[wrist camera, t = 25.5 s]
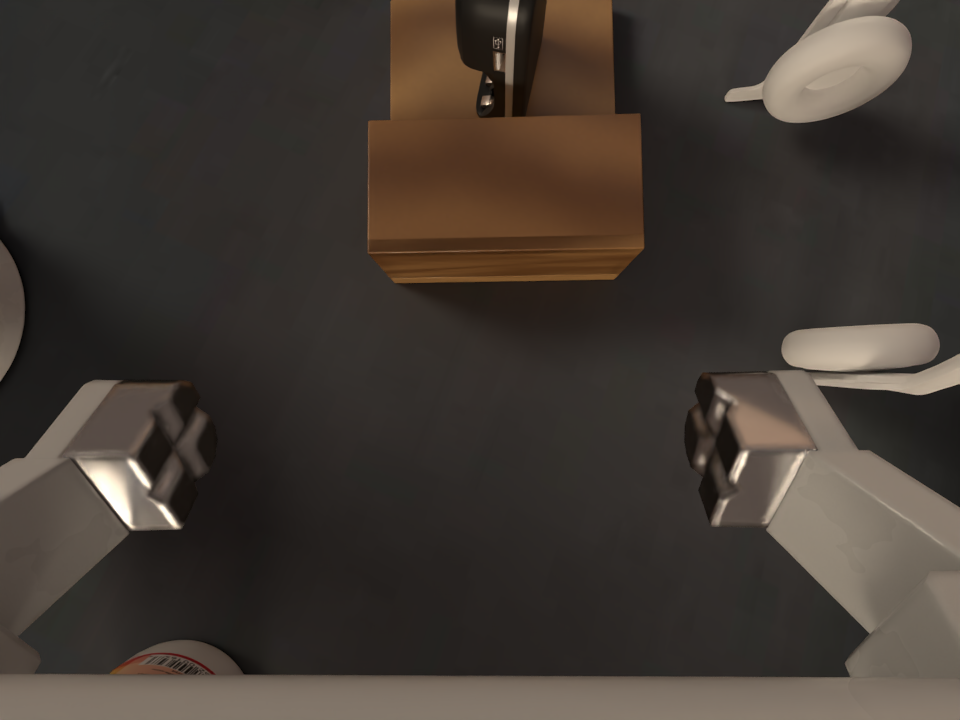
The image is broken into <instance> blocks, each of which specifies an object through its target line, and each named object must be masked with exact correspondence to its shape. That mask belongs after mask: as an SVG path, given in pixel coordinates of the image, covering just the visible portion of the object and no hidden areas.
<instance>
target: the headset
mask: <svg viewBox="0 0 960 720" xmlns="http://www.w3.org/2000/svg"><path fill="white" fill-rule="evenodd" d="M899 1H900V0H830V1H829V2H828V3H827V4H826V5H825V7H824V8H823V9H822V11H821V12H820V13H819V14H818V16H817V17H816V18H815V20H814V21H813V22H812V24H811V25H810V26H809V28H808V29H807V30H806V32H805V33H804V35H803V36H802V37H801V39H800V40H799V41H798V43H797V44H796V45H794V46H793V47H792V48H790V49H789V50H788V51H787V52H786V53H784V54H783V55H782V56H781V57H780V58H779V59H778V61H777V62H776V63H775V64H774V66H773V67H772V68H771V70H770V71H769V73H768V75H767V77H766V79H765V81H764V82H762V83H760V84H758V85H756V86H751V87H743V88H735V89H731V90H730V91H728V93H727V94H726V96H725V101H726V102H736V101H747V100H758V99H763V102H764V105H765V107H766V109H767V111H768V112H769V113H770V114H771V115H772V116H773V117H775V118H777V119H779V120H781V121H784V122H790V123H806V122H814V121H819V120H824V119H828V118H831V117H834V116H837V115H840V114H843V113H845V112H848V111H850V110H853V109H855V108H857V107H859V106H861V105H863V104H865V103H867V102H868V101H870V100H872V99H873V98H875V97H876V96H878V95H879V94H881V93H882V92H883V91H885V90H886V89H887V88H888V87H889V86H891V85H892V84H893V83H894V82H895V81H896V80H897V79H898V77H899V76H900V75H901V74H902V72H903V71H904V69H905V68H906V66H907V64H908V61H909V59H910V55H911V50H912V39H911V35H910V33H909V31H908V29H907V28H906V27H905V26H904V25H903V24H902V23H900V22H899V21H897V20H895V19H893V18H889V17H885V16H886V15H887V14H888V13H889V12H890V11H891V10H892V9H893V8H894V7H895V5H896V4H897V3H898V2H899ZM939 347H940V343H939V338H938V336H937V334H936V332H935V331H934V330H933V329H932V328H931V327H929V326H926V325H923V324H916V323H908V324H882V325H862V326H845V327H829V328H815V329H803V330H797V331H794V332H791V333H789V334H788V335H787V336H786V337H785V338H784V340H783V343H782V350H781V351H782V355H783V358H784V359H785V361H786V362H787V363H788V364H790V365H792V366H795V367H802V368H805V369H813V370H826V371H833V372H813V373H808V374H810V375H811V377H812V378H813V380H814V382H815V383H816V385H822V386H834V387H846V388H858V389H873V390H891V391H896V392H902V393H908V394H914V395H925V394H929V393H932V392H935V391H938V390H941V389H944V388H948V387H951V386H954V385H957V384H960V354H958V355H956V356H955V357H953V358H951V359H949V360H947V361H945V362H943V363H940V364H938V365H936V366H934V367H931V368H929V369H927V370H924V371H921V372H919V373H916V374H905V373H882V372H869V371H877V370H886V369H894V368H903V367H910V366H913V365H921V364H925V363H928V362H930V361H932V360H933V359H934V358H935V357H936V355H937V354H938V351H939Z"/></svg>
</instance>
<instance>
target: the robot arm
mask: <svg viewBox="0 0 960 720" xmlns="http://www.w3.org/2000/svg"><path fill="white" fill-rule="evenodd" d="M24 320H25V298H24V290H23V285H22V281H21V277H20V274H19V272H18V269H17V267H16V264H15V262H14V260H13V258H12V256H11V255H10V253H9V251H8V250H7V248H6V247H5V246H4V244H3V243H2V242H1V240H0V381H1V380H2V378H3V377H4V375H5V374H6V372H7V371H8V369H9V367H10V365H11V364H12V362H13V360H14V357H15V355H16V353H17V350H18V347H19V344H20V341H21V337H22V333H23V328H24ZM695 394H696V396H697V399H698V402H699V403H698V404H696V405H695V406H694V407H692V408H691V409H690V410H689V411H688V415H687V418H686V422H685V438H684V442H685V448H686V454H687V457H688V460H689V463H690V467H691V468H692V469H694V470H695V471H696V472H697V473H698V474H700V475H701V476H702V477H703V478H702V481H701V484H700V487H699V490H698V491H699V494H700V497H701V499H702V502H703V505H704V508H705V511H706V514H707V517H708V520H709V523H710V526H715V527H763V528H767V531H768V532H769V533H770V534H771V535H772V536H773V537H774V538H775V539H776V540H777V541H778V542H779V543H780V544H781V545H782V546H783V547H784V548H785V549H786V550H787V551H788V552H789V553H790V554H791V555H792V556H793V557H794V558H795V559H796V560H797V561H798V562H799V563H800V564H801V565H802V566H803V567H804V568H805V569H806V570H807V571H808V572H809V573H810V574H811V575H812V576H813V577H814V578H815V579H816V580H817V581H818V582H819V583H820V584H821V585H822V586H823V587H824V588H825V589H826V590H827V591H828V592H829V593H830V594H831V595H832V596H833V597H834V598H835V599H836V600H837V601H838V602H839V603H840V604H841V605H842V606H843V607H844V608H845V609H846V610H847V611H848V612H849V613H850V614H851V615H852V616H853V617H854V618H855V619H856V620H857V621H858V622H859V623H860V624H861V625H862V626H863V627H864V628H865V629H866V630H867V631H868V632H869V633H870V634H869V635H868V636H867V637H866V638H865V639H864V640H863V642H862V643H861V644H860V645H859V646H858V647H857V648H856V649H855V650H854V651H853V652H852V653H851V654H850V656H849V657H848V659H847V660H846V662H845V665H846V668H847V670H848V672H849V674H850V677H666V676H433V675H188V674H34V673H35V671H36V669H37V668H38V666H39V664H40V662H41V660H40V656H39V653H38V652H37V651H36V650H34V649H33V648H32V647H30V646H29V645H28V644H26V643H25V642H24V641H22V640H21V639H20V638H18V636H19V635H20V634H21V633H22V632H23V631H24V630H25V629H26V628H27V627H29V626H30V625H31V624H32V623H33V622H34V621H35V620H36V619H37V618H38V617H39V616H40V615H42V614H43V613H44V612H45V611H46V610H47V609H48V608H49V607H50V606H51V605H52V604H53V603H55V602H56V601H57V600H58V599H59V598H60V597H61V596H62V595H63V594H64V593H65V592H67V591H68V590H69V589H70V588H71V587H72V586H73V585H74V584H75V583H76V582H77V581H78V580H80V579H81V578H82V577H83V576H84V575H85V574H86V573H87V572H88V571H89V570H90V569H91V568H93V567H94V566H95V565H96V564H97V563H98V562H99V561H100V560H101V559H102V558H103V557H104V556H106V555H107V554H108V553H109V552H110V551H111V550H112V549H113V548H114V547H115V546H116V545H118V544H119V543H120V542H121V541H122V540H123V539H124V538H125V537H126V536H127V535H128V534H129V532H128V531H136V530H167V529H182V527H183V525H184V523H185V521H186V519H187V517H188V515H189V513H190V510H191V508H192V506H193V504H194V502H195V500H196V498H197V496H198V491H197V488H196V486H195V483H194V482H196V481H197V480H198V479H200V478H201V477H202V476H203V475H205V474H206V473H207V472H209V470H210V468H211V465H212V463H213V461H214V459H215V456H216V448H217V440H218V439H217V434H216V429H215V425H214V423H213V421H212V419H211V417H210V416H209V415H207V414H206V413H204V412H203V411H201V410H200V409H199V408H197V407H196V406H197V404H198V402H199V399H200V396H199V394H198V392H197V390H196V389H195V387H194V385H193V383H191V382H188V381H184V380H93V381H91V382H89V383H86V384H84V385H83V386H82V387H81V389H80V390H79V391H78V392H77V394H76V395H75V396H74V397H73V399H72V400H71V401H70V402H69V404H68V405H67V406H66V407H65V409H64V410H63V411H62V412H61V414H60V415H59V416H58V417H57V418H56V420H55V421H54V422H53V423H52V425H51V426H50V427H49V428H48V430H47V431H46V432H45V433H44V435H43V436H42V437H41V438H40V440H39V441H38V442H37V443H36V445H35V446H34V447H33V448H32V450H31V451H30V452H29V453H28V455H27V456H26V457H25V458H15V459H13V460H11V461H9V462H8V463H6V464H4V465H3V466H1V467H0V720H960V508H959V507H958V506H956V505H955V504H953V503H952V502H950V501H948V500H947V499H945V498H944V497H942V496H941V495H939V494H937V493H936V492H934V491H933V490H931V489H929V488H928V487H926V486H925V485H923V484H922V483H920V482H918V481H917V480H915V479H914V478H912V477H910V476H909V475H907V474H906V473H904V472H903V471H901V470H899V469H898V468H896V467H895V466H893V465H891V464H890V463H888V462H887V461H885V460H884V459H882V458H880V457H879V456H877V455H876V454H874V453H873V452H871V451H869V450H858V449H857V447H856V446H855V444H854V442H853V441H852V439H851V438H850V436H849V435H848V433H847V431H846V430H845V428H844V427H843V425H842V424H841V422H840V421H839V419H838V417H837V416H836V414H835V413H834V411H833V410H832V408H831V407H830V405H829V403H828V402H827V400H826V399H825V397H824V396H823V394H822V393H821V391H820V389H819V388H818V386H817V385H816V383H815V382H814V380H813V378H812V377H811V375H810V374H808V373H807V372H805V371H804V370H780V371H768V372H766V371H755V372H709V373H702V375H701V376H700V377H699V379H698V381H697V384H696V388H695Z"/></svg>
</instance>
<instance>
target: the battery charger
mask: <svg viewBox="0 0 960 720" xmlns="http://www.w3.org/2000/svg"><path fill="white" fill-rule="evenodd" d="M546 4H547V0H455V15H456V35H457V46H458V50H459V53H460V57H461V60H462V62H463V63H464V64H465V65H466V66H468V67H469V68H471V69H474V70H478V71H481V72H482V77H481V81H480V86H479V91H478V95H477V101H476V112H477V114H478V116H479V118H493V117H526V112H527V108H528V103H529V98H530V94H531V89H532V84H533V80H534V75H535V70H536V66H537V61H538V56H539V52H540V47H541V42H542V37H543V29H544V21H545V12H546Z"/></svg>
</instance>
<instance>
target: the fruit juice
mask: <svg viewBox="0 0 960 720" xmlns="http://www.w3.org/2000/svg"><path fill="white" fill-rule="evenodd" d="M108 674H188V675H244V674H243V672H242V671H241V669H240V668H239V667H238V665H237V664H236V663H235V662H234V661H233V660H232V659H231V658H230V657H229V656H228V655H226V654H225V653H224V652H222V651H221V650H219V649H217V648H216V647H214V646H211V645H209V644H206V643H203V642H199V641H194V640H173V641H168V642H164V643H160V644H157V645H154V646H152V647H150V648H148V649H146V650H143V651H141V652H140V653H138V654H136V655H134V656H133V657H131V658H130V659H128V660H127V661H126V662H124V663H123V664H121V665H120V666H118V667H117V668H116V669H114V670H113V671H111V672H110V673H108Z"/></svg>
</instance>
